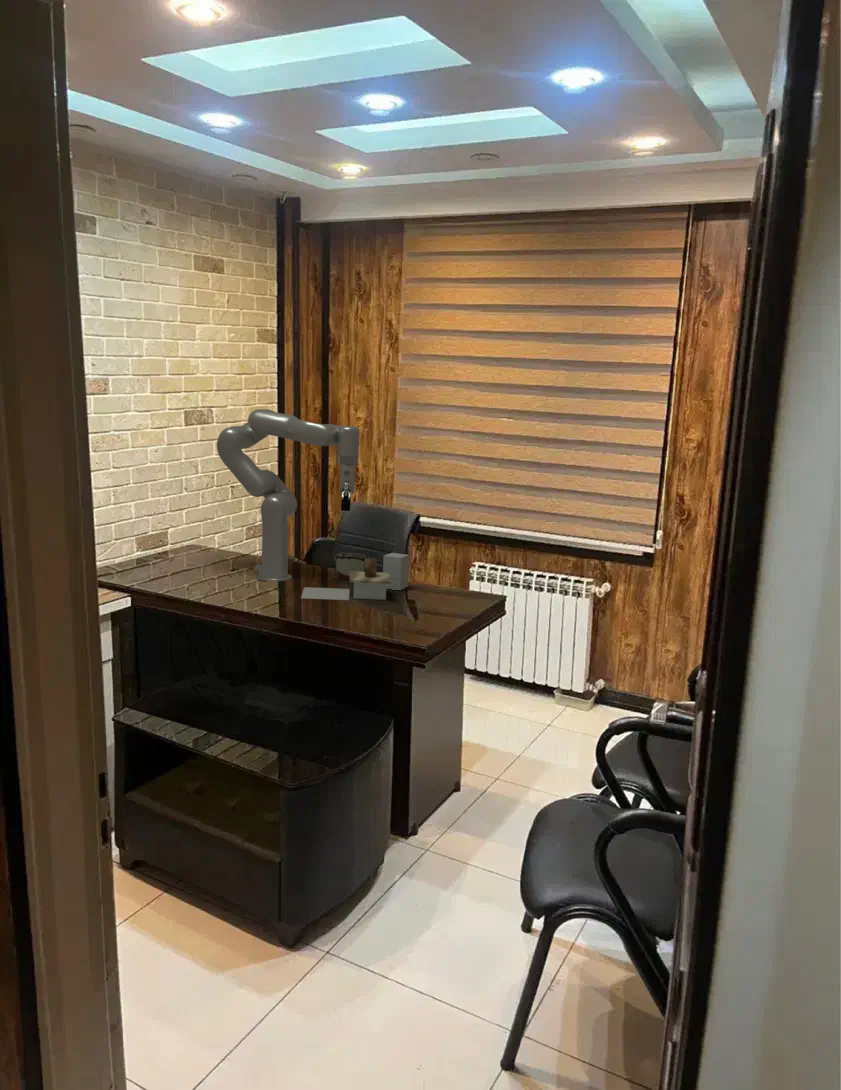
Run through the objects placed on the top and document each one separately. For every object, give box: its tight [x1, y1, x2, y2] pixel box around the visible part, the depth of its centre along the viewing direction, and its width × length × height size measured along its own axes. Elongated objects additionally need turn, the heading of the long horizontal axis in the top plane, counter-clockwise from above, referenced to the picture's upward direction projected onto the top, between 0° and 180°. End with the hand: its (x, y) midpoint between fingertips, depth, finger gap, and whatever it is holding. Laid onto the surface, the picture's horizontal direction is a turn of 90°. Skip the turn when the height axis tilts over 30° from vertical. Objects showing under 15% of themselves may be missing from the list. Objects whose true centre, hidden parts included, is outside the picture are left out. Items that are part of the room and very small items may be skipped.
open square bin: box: [352, 582, 387, 601], centre depth 283 cm, size 11×11×6 cm
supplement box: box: [382, 552, 410, 591], centre depth 297 cm, size 7×7×13 cm
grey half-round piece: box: [333, 552, 367, 581], centre depth 307 cm, size 12×6×10 cm, turn 84°
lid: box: [349, 557, 391, 584], centre depth 282 cm, size 14×14×7 cm
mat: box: [300, 586, 350, 601], centre depth 282 cm, size 16×16×1 cm
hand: (345, 508), depth 293 cm, fingers open, 9 cm apart
